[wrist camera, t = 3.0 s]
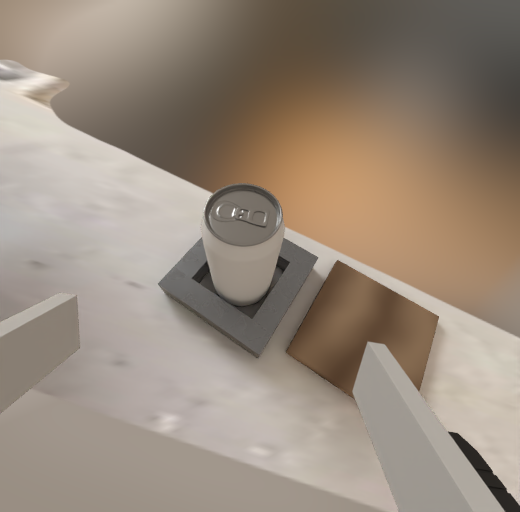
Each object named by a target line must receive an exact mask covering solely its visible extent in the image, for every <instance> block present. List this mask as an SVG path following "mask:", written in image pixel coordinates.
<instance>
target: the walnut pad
mask: <svg viewBox="0 0 520 512" xmlns="http://www.w3.org/2000/svg"><path fill="white" fill-rule="evenodd" d="M438 319H439V316H437V315H435V314H433V313H432V312H430V311H428V310H426V309H424V308H423V307H421V306H419V305H417V304H416V303H414V302H412V301H410V300H408V299H407V298H405V297H403V296H401V295H399V294H398V293H396V292H394V291H392V290H390V289H389V288H387V287H385V286H383V285H382V284H380V283H378V282H376V281H374V280H373V279H371V278H369V277H367V276H365V275H364V274H362V273H360V272H358V271H356V270H355V269H353V268H351V267H349V266H347V265H346V264H344V263H342V262H340V261H339V260H337V261H336V263H335V264H334V266H333V268H332V270H331V271H330V273H329V275H328V277H327V279H326V280H325V282H324V284H323V286H322V288H321V289H320V291H319V293H318V295H317V297H316V298H315V300H314V302H313V304H312V306H311V307H310V309H309V311H308V313H307V315H306V316H305V318H304V320H303V322H302V324H301V325H300V327H299V329H298V331H297V333H296V334H295V336H294V338H293V340H292V342H291V343H290V345H289V347H288V349H287V351H286V353H288V354H289V355H291V356H292V357H293V358H295V359H296V360H298V361H299V362H301V363H302V364H304V365H305V366H307V367H308V368H310V369H311V370H313V371H314V372H316V373H317V374H319V375H320V376H321V377H323V378H324V379H326V380H327V381H329V382H330V383H332V384H333V385H335V386H336V387H338V388H339V389H341V390H342V391H344V392H345V393H347V394H348V395H349V396H351V397H352V398H354V395H353V392H352V391H353V387H354V384H355V381H356V378H357V374H358V371H359V368H360V365H361V361H362V358H363V355H364V352H365V348H366V345H367V342H373V343H380V344H385V345H386V347H387V348H388V350H389V351H390V352H391V354H392V355H393V357H394V358H395V359H396V361H397V362H398V363H399V365H400V366H401V368H402V369H403V370H404V372H405V373H406V375H407V376H408V377H409V379H410V380H411V382H412V383H413V384H414V386H415V387H416V388H417V390H418V391H419V390H420V386H421V383H422V379H423V375H424V371H425V368H426V364H427V360H428V356H429V353H430V349H431V345H432V341H433V338H434V334H435V330H436V326H437V323H438ZM354 399H355V398H354Z"/></svg>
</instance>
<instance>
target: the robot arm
mask: <svg viewBox="0 0 520 512" xmlns="http://www.w3.org/2000/svg"><path fill="white" fill-rule="evenodd" d="M79 348H80V340H79V322H78V305H77V295H72V294H66V293H58V294H56V295H54V296H52V297H50V298H48V299H46V300H44V301H42V302H40V303H38V304H36V305H34V306H32V307H30V308H28V309H26V310H24V311H22V312H20V313H18V314H15V315H13V316H11V317H9V318H7V319H5V320H3V321H1V322H0V413H2V412H3V411H4V410H5V409H6V408H8V407H9V406H10V405H11V404H12V403H14V402H15V401H16V400H17V399H18V398H20V397H21V396H22V395H23V394H25V393H26V392H27V391H28V390H29V389H31V388H32V387H33V386H34V385H35V384H37V383H38V382H39V381H40V380H42V379H43V378H44V377H45V376H46V375H48V374H49V373H50V372H51V371H52V370H54V369H55V368H56V367H57V366H58V365H60V364H61V363H62V362H63V361H65V360H66V359H67V358H68V357H69V356H71V355H72V354H73V353H74V352H75V351H77V350H78V349H79ZM352 392H353V395H354V398H355V400H356V403H357V405H358V408H359V410H360V413H361V415H362V418H363V420H364V423H365V426H366V428H367V431H368V433H369V436H370V438H371V441H372V443H373V446H374V449H375V451H376V454H377V456H378V459H379V461H380V464H381V466H382V469H383V471H384V474H385V477H386V479H387V482H388V484H389V487H390V489H391V492H392V494H393V497H394V500H395V502H396V505H397V507H398V510H399V512H520V505H519V504H518V503H517V502H516V500H515V499H514V498H513V496H512V495H511V494H510V493H507V490H506V488H505V486H504V485H503V484H502V482H501V481H500V480H499V479H498V477H497V476H496V475H494V474H493V471H492V470H491V468H490V467H489V466H488V464H487V463H486V462H485V461H484V459H483V458H482V457H481V455H480V454H479V453H478V452H477V450H475V449H474V448H473V447H472V446H471V445H470V444H469V443H468V442H467V441H466V440H464V439H463V438H462V437H461V436H460V435H459V434H458V433H453V432H447V430H446V429H445V427H444V426H443V425H442V423H441V422H440V420H439V419H438V418H437V416H436V415H435V413H434V412H433V411H432V409H431V408H430V407H429V405H428V404H427V402H426V401H425V400H424V398H423V397H422V395H421V394H420V393H419V391H418V390H417V388H416V387H415V386H414V384H413V383H412V382H411V380H410V379H409V377H408V376H407V375H406V373H405V372H404V370H403V369H402V368H401V366H400V365H399V363H398V362H397V361H396V359H395V358H394V357H393V355H392V354H391V352H390V351H389V350H388V348H387V347H386V345H385V344H380V343H373V342H367V345H366V348H365V352H364V355H363V358H362V361H361V365H360V368H359V371H358V374H357V378H356V381H355V384H354V387H353V391H352Z"/></svg>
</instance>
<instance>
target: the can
mask: <svg viewBox="0 0 520 512" xmlns="http://www.w3.org/2000/svg"><path fill="white" fill-rule="evenodd" d="M282 217H283V214H282V209H281V206H280V204H279V202H278V200H277V199H276V198H275V196H274V195H272V194H271V193H270V192H269V191H267V190H266V189H264V188H262V187H259V186H256V185H252V184H245V183H243V184H242V183H239V184H232V185H228V186H225V187H223V188H221V189H219V190H217V191H216V192H215V193H213V194H212V195H211V196H210V198H209V199H208V200H207V202H206V204H205V207H204V212H203V218H202V221H201V234H202V240H203V244H204V248H205V252H206V256H207V260H208V265H209V269H210V273H211V276H212V280H213V284H214V287H215V290H216V292H217V293H218V295H219V296H220V297H221V298H222V299H223V300H225V301H226V302H228V303H230V304H233V305H237V306H247V305H251V304H254V303H256V302H258V301H259V300H261V299H262V298H263V297H264V296H265V295H266V293H267V292H268V290H269V287H270V284H271V281H272V278H273V274H274V271H275V267H276V264H277V260H278V256H279V253H280V249H281V245H282V242H283V237H284V230H285V227H284V221H283V218H282Z"/></svg>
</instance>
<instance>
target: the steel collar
mask: <svg viewBox="0 0 520 512" xmlns="http://www.w3.org/2000/svg"><path fill="white" fill-rule="evenodd" d="M317 259H318V257H317V256H315V255H313V254H311V253H310V252H308V251H306V250H304V249H303V248H301V247H299V246H297V245H295V244H294V243H292V242H290V241H288V240H287V239H285V238H283V242H282V245H281V249H280V253H279V256H278V260H277V264H276V266H277V267H279V268H281V269H282V270H284V272H283V274H282V275H281V277H280V278H279V280H278V281H277V283H276V284H275V286H274V287H273V289H272V290H271V292H270V293H269V295H268V296H267V298H266V299H265V301H264V302H263V304H262V305H261V307H260V308H259V310H258V311H257V313H256V314H255V316H254V317H253V319H251V318H250V317H249V316H247V315H246V314H244V313H243V312H241V311H240V310H238V309H237V308H235V307H234V306H232V305H231V304H229V303H228V302H226V301H225V300H223V299H222V298H220V297H219V296H217V295H216V294H214V293H213V292H211V291H210V290H208V289H207V288H205V287H204V286H202V285H201V284H199V283H200V281H201V280H202V279H203V278H204V277H205V276H206V274H207V273H208V272H209V271H210V269H209V265H208V260H207V256H206V252H205V248H204V244H203V240H202V237H201V239H200V240H199V241H198V242H197V243H196V244H195V245H194V246H193V247H192V248H191V249H190V250H189V251H188V252H187V253H186V254H185V256H184V257H183V258H182V259H181V260H180V261H179V262H178V263H177V264H176V265H175V266H174V267H173V268H172V269H171V270H170V271H169V273H168V274H167V275H166V276H165V277H164V278H163V279H162V280H161V281H160V282H159V283H158V285H159V286H160V287H161V289H162V290H163V291H164V293H166V294H167V295H168V296H170V297H171V298H173V299H174V300H176V301H177V302H178V303H180V304H181V305H183V306H184V307H185V308H187V309H188V310H190V311H191V312H193V313H194V314H195V315H197V316H198V317H200V318H201V319H203V320H204V321H205V322H207V323H208V324H210V325H211V326H212V327H214V328H215V329H217V330H218V331H220V332H221V333H222V334H224V335H225V336H227V337H228V338H230V339H231V340H232V341H234V342H235V343H237V344H238V345H239V346H241V347H242V348H244V349H245V350H247V351H248V352H249V353H251V354H252V355H254V356H255V357H256V358H258V357H259V356H260V354H261V352H262V351H263V349H264V347H265V346H266V344H267V342H268V341H269V339H270V337H271V336H272V334H273V333H274V331H275V329H276V328H277V326H278V324H279V323H280V321H281V319H282V318H283V316H284V314H285V313H286V311H287V309H288V308H289V306H290V304H291V303H292V301H293V299H294V298H295V296H296V294H297V293H298V291H299V289H300V288H301V286H302V284H303V283H304V281H305V280H306V278H307V276H308V275H309V273H310V271H311V270H312V268H313V266H314V264H315V263H316V261H317Z"/></svg>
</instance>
